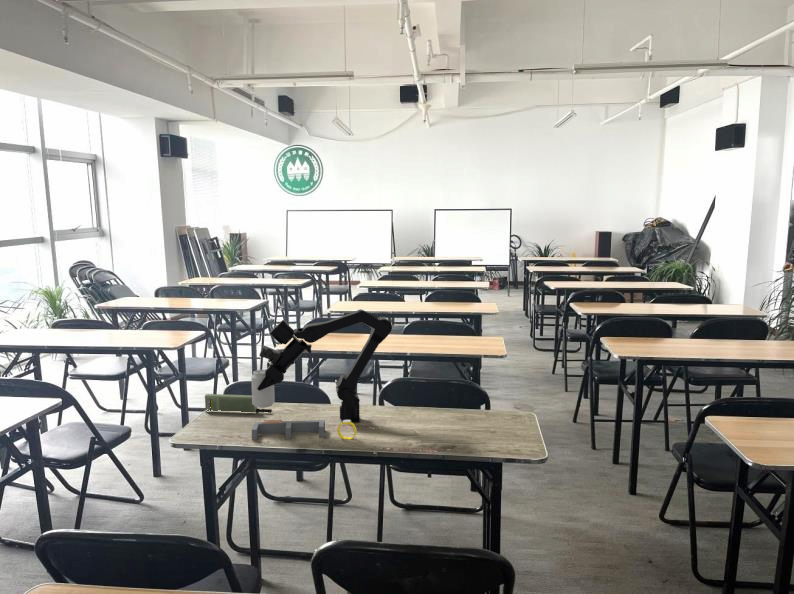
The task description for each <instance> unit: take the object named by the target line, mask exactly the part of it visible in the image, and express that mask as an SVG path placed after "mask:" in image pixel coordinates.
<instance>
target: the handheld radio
mask: <svg viewBox="0 0 794 594" xmlns="http://www.w3.org/2000/svg"><path fill="white" fill-rule="evenodd" d="M204 404H205V405H204V406H205V411H206V410H207V409H208V410H207V411H209V410H210V411H211V410H213V411H218V410H221V411H241V412H258V413H264V412H268V413H269V414H271V413H272V412H273V410H272V409H271V408H258V407H255V406H254V405H253V404H252V394H251V395H248V394H245V395H244V394H216V393H206V394H204ZM210 407H211V408H210Z"/></svg>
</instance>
